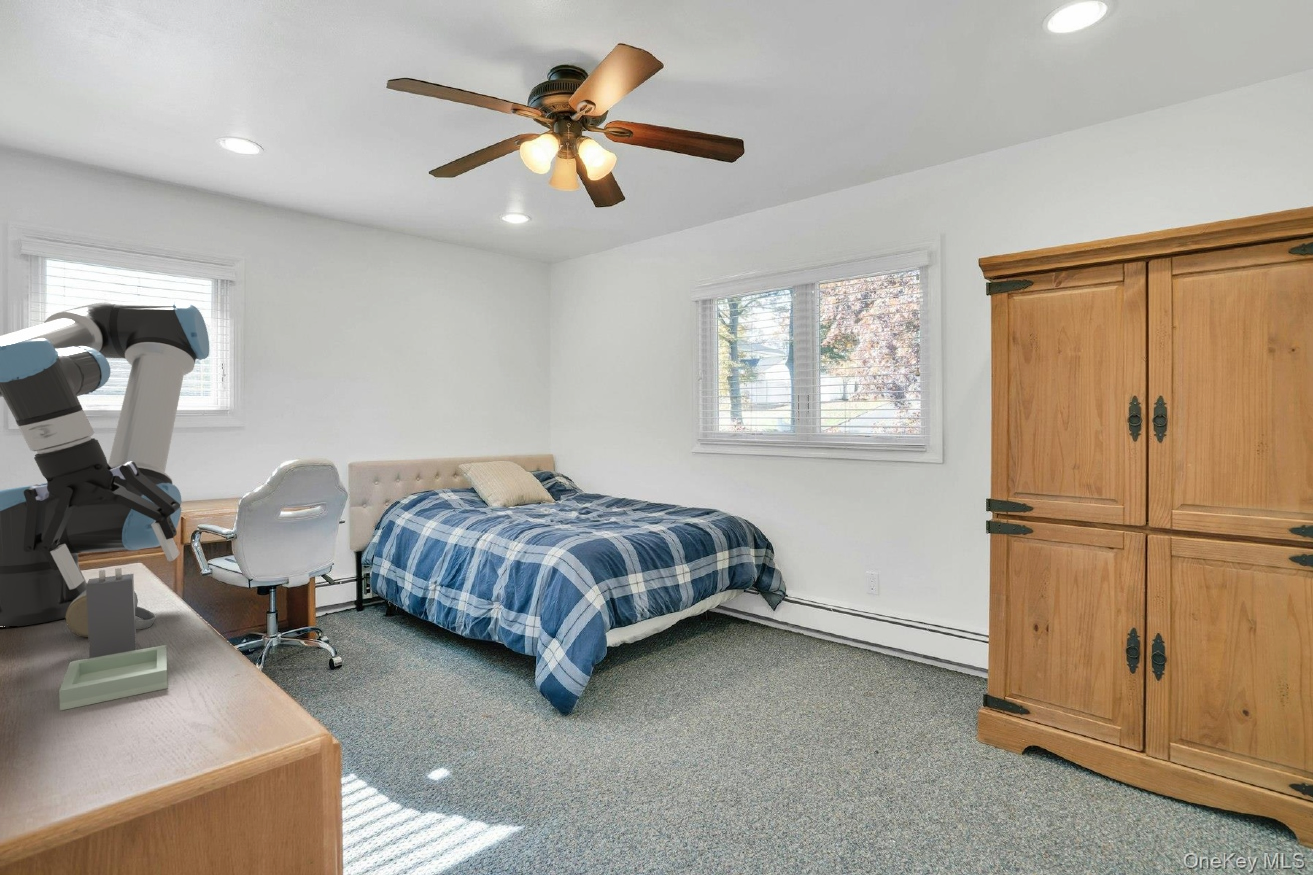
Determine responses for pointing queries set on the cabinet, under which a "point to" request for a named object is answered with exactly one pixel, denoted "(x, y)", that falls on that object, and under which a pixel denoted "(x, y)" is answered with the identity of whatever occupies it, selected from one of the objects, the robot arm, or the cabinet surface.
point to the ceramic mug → (79, 619)
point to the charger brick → (111, 614)
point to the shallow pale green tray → (114, 677)
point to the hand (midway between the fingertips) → (126, 571)
